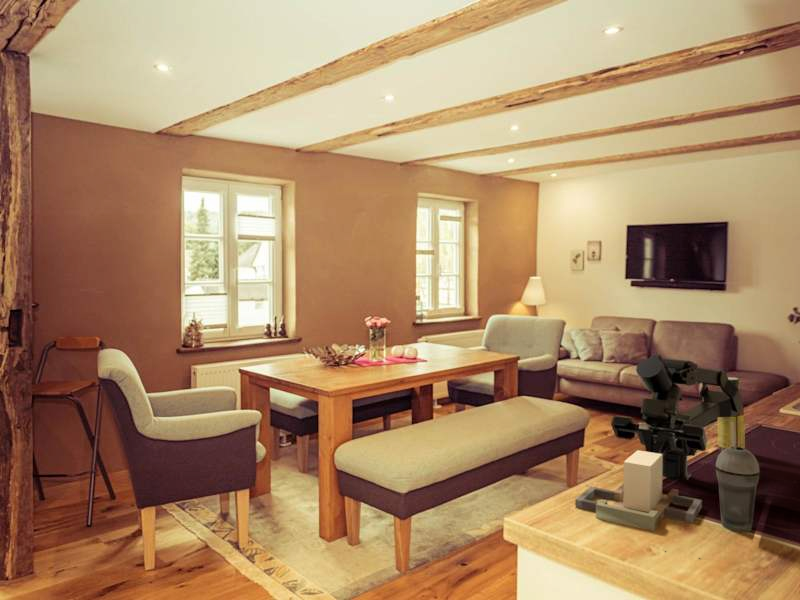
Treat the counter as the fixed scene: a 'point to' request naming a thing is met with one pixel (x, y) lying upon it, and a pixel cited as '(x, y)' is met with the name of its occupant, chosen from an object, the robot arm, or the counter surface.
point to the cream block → (642, 480)
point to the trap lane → (637, 516)
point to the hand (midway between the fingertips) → (650, 466)
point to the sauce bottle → (726, 428)
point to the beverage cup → (737, 486)
